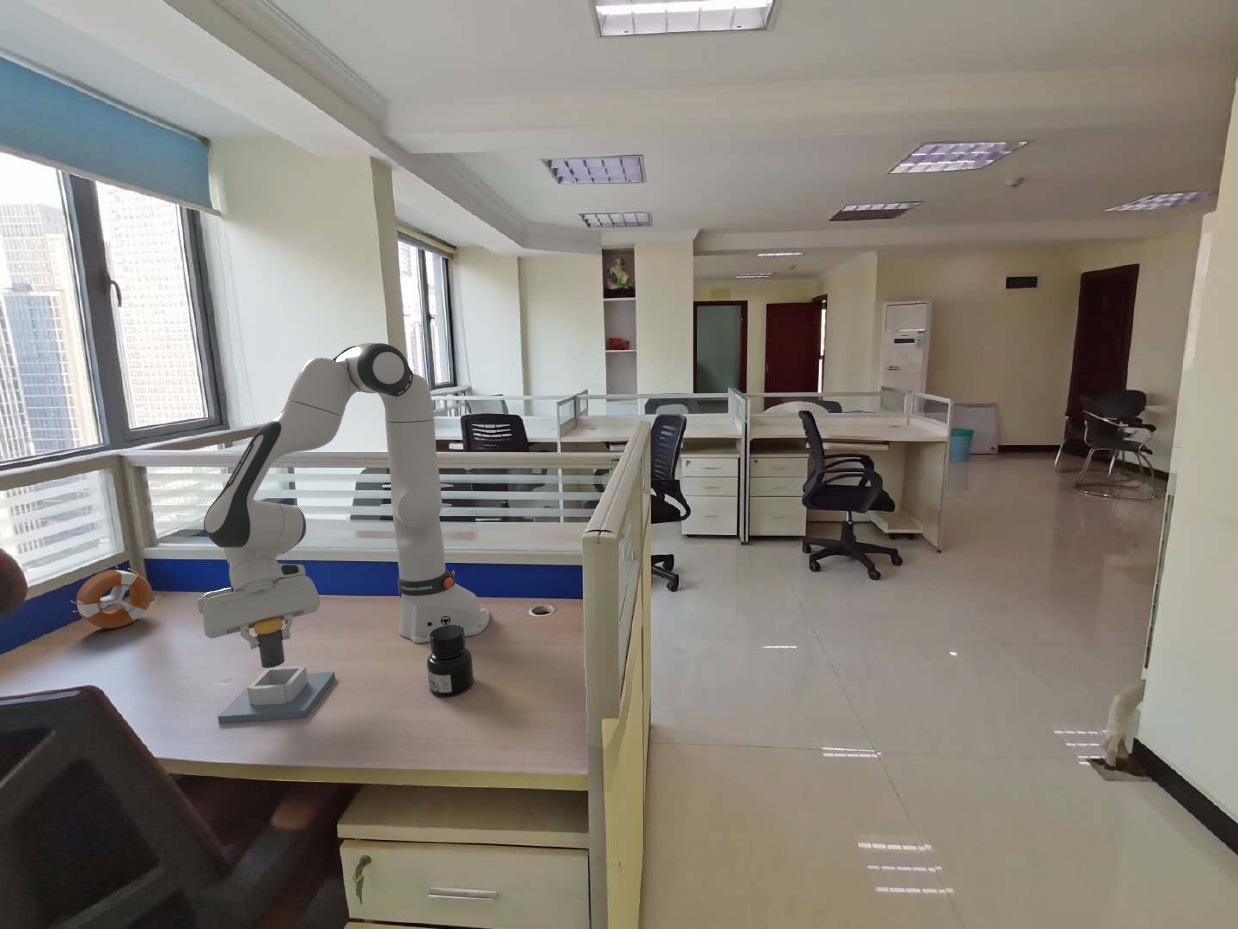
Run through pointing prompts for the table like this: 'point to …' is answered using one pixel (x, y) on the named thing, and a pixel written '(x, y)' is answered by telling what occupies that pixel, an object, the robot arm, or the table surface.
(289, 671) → the mount
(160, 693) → the table surface
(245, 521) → the robot arm
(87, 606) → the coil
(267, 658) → the knob
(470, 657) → the ink bottle
